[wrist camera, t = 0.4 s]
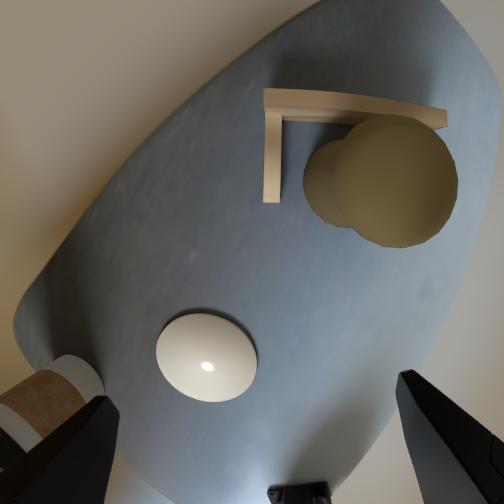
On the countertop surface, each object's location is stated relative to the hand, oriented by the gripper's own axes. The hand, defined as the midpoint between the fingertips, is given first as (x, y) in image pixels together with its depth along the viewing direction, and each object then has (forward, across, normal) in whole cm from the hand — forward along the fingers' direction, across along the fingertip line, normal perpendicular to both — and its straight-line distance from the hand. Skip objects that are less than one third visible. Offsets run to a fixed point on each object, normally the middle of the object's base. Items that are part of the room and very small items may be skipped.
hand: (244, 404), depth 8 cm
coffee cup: (+12, +20, +11) cm, 26 cm away
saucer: (+12, +6, +9) cm, 16 cm away
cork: (+15, -6, -2) cm, 16 cm away
